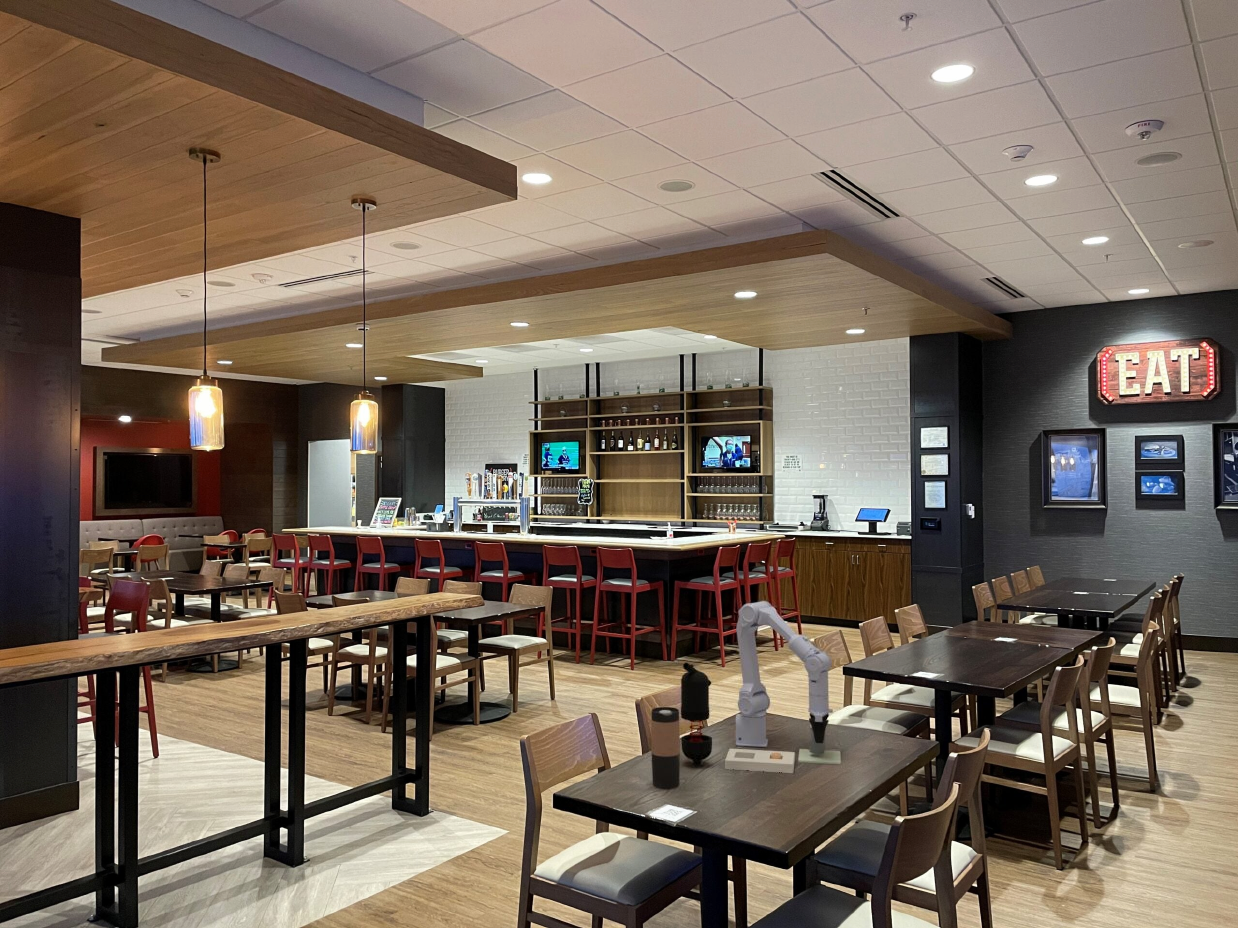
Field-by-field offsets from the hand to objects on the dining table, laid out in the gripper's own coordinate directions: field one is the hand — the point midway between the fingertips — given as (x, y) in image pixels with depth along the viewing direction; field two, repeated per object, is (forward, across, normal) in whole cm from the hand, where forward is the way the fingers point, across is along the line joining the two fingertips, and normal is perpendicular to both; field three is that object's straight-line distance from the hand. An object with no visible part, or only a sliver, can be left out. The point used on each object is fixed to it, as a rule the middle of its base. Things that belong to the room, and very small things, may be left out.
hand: (819, 740), depth 267 cm
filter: (+5, -13, +34) cm, 37 cm away
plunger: (+4, -11, +12) cm, 17 cm away
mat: (+5, 0, 0) cm, 5 cm away
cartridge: (+3, 0, +1) cm, 3 cm away
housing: (+5, -11, +16) cm, 20 cm away
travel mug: (+5, -34, +40) cm, 53 cm away
